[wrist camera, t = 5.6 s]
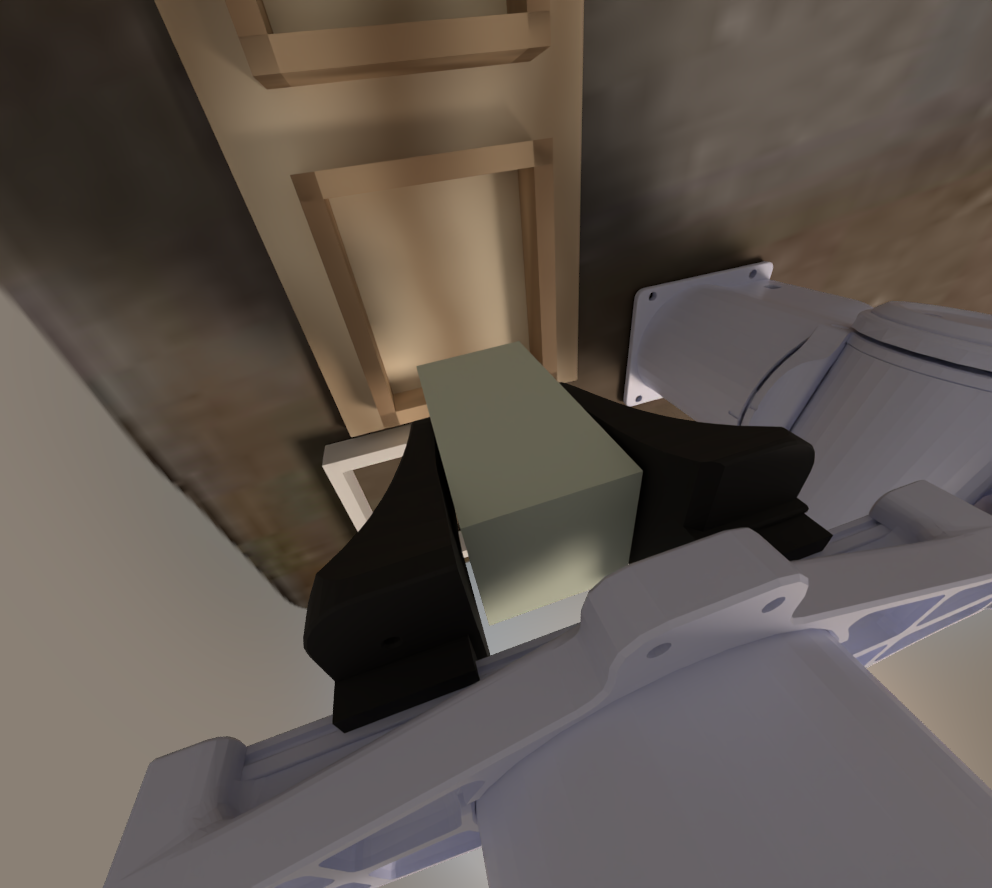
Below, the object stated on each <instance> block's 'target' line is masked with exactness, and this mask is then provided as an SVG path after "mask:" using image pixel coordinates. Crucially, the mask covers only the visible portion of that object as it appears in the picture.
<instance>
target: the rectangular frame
mask: <svg viewBox="0 0 992 888" xmlns="http://www.w3.org/2000/svg"><path fill="white" fill-rule="evenodd" d="M411 424H412V423H411ZM411 424H407V425H404V426H400V427H396V428H392V429H388V430H384V431H380V432H376V433H372V434H368V435H364V436H360V437H357V438H353V439H349V440H345V441H341V442H337V443H333V444H329V445H325V450H324V456H323V463H322V467H323V469H324V470H325V472H326V474H327V476H328V478H329V480H330V482H331V483H332V485H333V487H334V489H335V491H336V493H337V494H338V496H339V498H340V500H341V502H342V504H343V505H344V507H345V509H346V511H347V513H348V515H349V517H350V518H351V520H352V522H353V524H354V526H355V528H356V529H357V531H359V530H360V529H361V528H362V526H363V525H364V524H365V523H366V521H367V520H368V519H369V517H370V516H371V515H372V513H373V512H372V510H371V508H370V506H369V504H368V502H367V499H366V497H365V495H364V493H363V491H362V489H361V487H360V485H359V483H358V481H357V479H356V477H355V474H354V472H353V470H354V469H358V468H361V467H365V466H369V465H372V464H376V463H380V462H384V461H387V460H391V459H395V458H398V457H402V456H403V453H404V450H405V448H406V444H407V441H408V437H409V433H410V427H411ZM458 532H459V538H460V543H461V548H462V553H463V556H464V558H465V557H468V553H467V549H466V546H465V543H464V539H463V536H462V533H461V531H458Z"/></svg>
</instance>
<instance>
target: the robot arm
mask: <svg viewBox="0 0 992 888" xmlns="http://www.w3.org/2000/svg"><path fill="white" fill-rule="evenodd" d="M772 270H773V264H772V263H771V262H767V261H764V262H759V263H755V264H750V265H746V266H741V267H737V268H732V269H728V270H723V271H718V272H714V273H709V274H705V275H700V276H696V277H691V278H687V279H682V280H677V281H673V282H668V283H664V284H659V285H655V286H650V287H646V288H642V289H640V290H639V291H638V292H637V293H636V295H635V298H634V307H633V316H632V325H631V334H630V344H629V353H628V362H627V372H626V381H625V390H624V399H623V400H624V403H625V404H626V405H627V406H625V405H622V404H619V403H616V402H614V401H611V400H608V399H605V398H603V397H600V396H597V395H595V394H592V393H590V392H587V391H585V390H582V389H580V388H577V387H575V386H572V385H569V384H567V383H563V382H559V383H560V384H561V385H562V387H563V388H564V389H565V390H566V391H567V392H568V393H569V394H570V395H571V396H572V397H573V398H574V399H575V400H576V401H577V402H578V403H579V404H580V405H581V406H582V407H583V409H584V410H585V411H586V412H587V413H588V414H589V415H590V416H591V417H592V418H593V419H594V420H595V421H596V422H597V423H598V424H599V425H600V426H601V427H602V428H603V429H604V431H605V432H606V433H607V434H608V435H609V436H610V437H611V438H612V439H613V440H614V441H615V442H616V443H617V444H618V445H619V446H620V447H621V448H622V449H623V450H624V451H625V453H626V454H627V455H628V456H629V457H630V458H631V459H632V460H633V461H634V462H635V463H636V464H637V465H638V466H639V467H640V468H641V469H642V470H643V475H642V481H641V487H640V493H639V500H638V506H637V512H636V519H635V525H634V531H633V538H632V544H631V550H630V556H629V565H626V566H624V567H622V568H620V569H618V570H616V571H614V572H613V573H611V574H609V575H607V576H605V577H604V578H603V579H602V580H601V581H600V582H598V583H597V584H596V585H595V586H594V587H593V588H592V589H591V590H590V591H589V592H588V595H587V597H586V599H585V602H584V604H583V607H582V609H581V622H580V623H577V624H574V625H571V626H569V627H566V628H563V629H561V630H558V631H555V632H553V633H550V634H547V635H545V636H542V637H539V638H537V639H534V640H531V641H529V642H526V643H523V644H520V645H518V646H515V647H512V648H510V649H507V650H504V651H502V652H499V653H496V654H494V655H491V656H490V652H489V649H488V645H487V642H486V638H485V634H484V630H483V627H482V624H481V619H480V616H479V612H478V609H477V605H476V601H475V597H474V594H473V590H472V586H471V583H470V579H469V575H468V571H467V567H466V564H465V560H464V556H463V553H462V548H461V543H460V538H459V532H458V526H457V519H456V513H455V507H454V503H453V500H452V496H451V492H450V489H449V485H448V481H447V478H446V474H445V470H444V467H443V463H442V459H441V456H440V452H439V448H438V445H437V441H436V437H435V434H434V430H433V426H432V423H431V419H430V417H428V418H424V419H420V420H416V421H413V422H412V424H411V427H410V433H409V437H408V441H407V444H406V448H405V450H404V453H403V456H402V459H401V462H400V464H399V466H398V469H397V471H396V473H395V476H394V478H393V480H392V482H391V484H390V486H389V488H388V489H387V491H386V493H385V495H384V496H383V498H382V500H381V501H380V503H379V504H378V506H377V507H376V509H375V510H374V512H373V513H372V515H371V516H370V517H369V519H368V520H367V521H366V523H365V524H364V525H363V526H362V528H361V529H360V530H359V531H358V532H357V533H356V535H355V536H354V537H353V538H352V539H351V540H350V541H349V542H348V543H347V545H346V546H345V547H344V548H343V549H342V550H341V551H340V552H339V553H338V554H337V555H336V556H335V557H333V558H332V559H331V560H330V561H329V562H328V563H327V564H326V565H325V566H324V567H323V568H322V569H321V570H320V571H319V572H318V573H317V574H316V576H315V580H314V584H313V587H312V590H311V594H310V598H309V602H308V607H307V615H306V622H305V629H304V636H303V642H304V649H305V650H306V652H307V654H308V655H309V656H310V658H312V659H313V660H314V661H315V662H316V663H317V664H318V665H319V666H320V667H321V668H322V669H323V670H324V671H325V672H326V673H327V674H328V675H329V676H330V677H331V678H332V679H333V680H334V681H335V689H334V704H333V715H330V716H327V717H325V718H322V719H319V720H317V721H314V722H312V723H309V724H306V725H303V726H300V727H298V728H295V729H292V730H290V731H287V732H285V733H282V734H279V735H276V736H274V737H271V738H268V739H266V740H263V741H260V742H258V743H255V744H252V745H250V746H247V747H246V746H245V745H244V744H243V743H242V742H241V741H240V740H238V739H236V738H233V737H228V736H226V737H216V738H212V739H208V740H205V741H202V742H200V743H197V744H194V745H192V746H189V747H186V748H183V749H180V750H178V751H175V752H172V753H170V754H167V755H164V756H162V757H159V758H156V759H155V760H153V761H152V762H151V763H150V764H149V766H148V769H147V771H146V774H145V777H144V779H143V782H142V785H141V787H140V790H139V793H138V795H137V798H136V801H135V803H134V806H133V809H132V811H131V814H130V817H129V819H128V822H127V825H126V827H125V830H124V833H123V836H122V838H121V841H120V843H119V846H118V849H117V851H116V854H115V857H114V859H113V862H112V865H111V867H110V870H109V873H108V875H107V878H106V881H105V883H104V886H103V888H377V887H380V886H383V885H385V884H388V883H390V882H393V881H396V880H398V879H400V878H403V877H406V876H409V875H411V874H414V873H416V872H419V871H421V870H424V869H427V868H429V867H432V866H434V865H437V864H440V863H442V862H445V861H447V860H450V859H453V858H455V857H458V856H460V855H463V854H466V853H468V852H471V851H473V850H476V849H479V848H481V847H482V850H483V856H484V862H485V867H486V873H487V879H488V885H489V888H992V790H991V789H990V788H989V787H988V786H987V785H986V784H985V783H984V782H983V781H982V780H981V779H980V778H979V777H978V776H977V775H976V774H974V772H972V770H971V769H970V768H968V767H967V766H966V765H965V764H964V763H963V762H962V761H961V760H960V759H959V758H958V757H957V756H956V755H955V754H954V753H953V752H952V751H951V750H950V749H949V748H948V747H947V746H946V745H945V744H944V743H943V742H942V741H941V740H940V739H938V738H937V737H936V736H935V735H934V734H933V733H932V732H931V731H930V730H929V729H928V728H927V727H926V726H925V725H924V724H923V723H922V722H921V721H920V720H919V719H918V718H917V717H916V716H915V715H914V714H913V713H912V712H911V711H909V709H907V707H905V706H904V705H903V704H902V703H901V702H900V701H899V700H898V699H897V698H896V697H895V696H894V695H893V694H892V693H891V692H890V691H889V690H888V689H887V688H886V687H885V686H884V685H883V684H882V683H881V682H880V681H879V680H878V679H877V678H876V677H875V676H873V675H872V674H871V673H870V672H869V671H868V670H867V669H866V668H867V667H869V666H871V665H873V664H875V663H877V662H879V661H881V660H883V659H885V658H886V657H889V656H890V655H892V654H894V653H896V652H898V651H900V650H902V649H904V648H906V647H908V646H910V645H912V644H914V643H916V642H918V641H920V640H922V639H924V638H926V637H928V636H930V635H932V634H934V633H936V632H938V631H940V630H942V629H944V628H946V627H948V626H951V625H953V624H955V623H957V622H959V621H961V620H964V619H966V618H968V617H970V616H972V615H974V614H976V613H979V612H980V611H982V610H983V609H992V315H990V314H985V313H979V312H974V311H968V310H962V309H956V308H950V307H943V306H937V305H930V304H922V303H914V302H903V301H890V302H887V303H884V304H882V305H879V306H877V307H875V308H873V307H872V306H870V305H868V304H866V303H864V302H861V301H858V300H854V299H850V298H845V297H841V296H837V295H833V294H828V293H824V292H820V291H816V290H811V289H807V288H803V287H799V286H794V285H790V284H786V283H782V282H777V281H773V280H769V279H770V276H771V273H772ZM750 272H751V274H750ZM652 292H653V295H652V297H651V298H650V299H649V296H650V294H651V293H652ZM637 396H639V397H638V398H637ZM636 398H637V399H636ZM659 398H665V399H666V400H668V401H669V402H670V403H672V404H673V405H675V406H676V407H677V408H679V409H680V410H682V411H683V412H684V413H686V414H687V415H688V416H690V417H691V418H693V419H694V420H695V421H690V420H683V419H677V418H672V417H667V416H662V415H658V414H654V413H650V412H645V411H642V410H638V409H635V408H632V407H629V406H634V405H638V404H641V403H645V402H649V401H652V400H656V399H659ZM696 421H697V422H696Z"/></svg>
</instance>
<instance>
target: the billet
mask: <svg viewBox="0 0 992 888" xmlns="http://www.w3.org/2000/svg"><path fill="white" fill-rule="evenodd" d="M416 367H417V371H418V375H419V378H420V382H421V386H422V389H423V393H424V397H425V400H426V404H427V408H428V412H429V415H430V419H431V423H432V426H433V430H434V434H435V437H436V441H437V445H438V448H439V452H440V456H441V459H442V463H443V467H444V470H445V474H446V478H447V481H448V485H449V489H450V492H451V496H452V500H453V503H454V507H455V511H456V515H457V518H458V522H459V526H460V529H461V533H462V536H463V539H464V543H465V546H466V549H467V553H468V556H469V559H470V563H471V566H472V569H473V573H474V576H475V579H476V583H477V586H478V589H479V592H480V596H481V599H482V603H483V606H484V609H485V613H486V616H487V619H488V623H489V625H493V624H496V623H498V622H501V621H504V620H507V619H509V618H512V617H515V616H518V615H521V614H523V613H526V612H529V611H531V610H534V609H537V608H540V607H543V606H546V605H548V604H551V603H553V602H557V601H559V600H562V599H565V598H568V597H570V596H573V595H576V594H579V593H581V592H584V591H587V590H590V589H592V588H593V587H594V586H595V585H596V584H597V583H598V582H600V581H601V580H602V579H603V578H604V577H605V576H607V575H609V574H611V573H613V572H614V571H616V570H618V569H620V568H622V567H624V566H626V565H628V563H629V556H630V550H631V544H632V538H633V531H634V525H635V519H636V512H637V506H638V500H639V493H640V487H641V481H642V475H643V470H642V469H641V468H640V467H639V466H638V465H637V464H636V463H635V462H634V461H633V460H632V459H631V458H630V457H629V456H628V455H627V454H626V453H625V451H624V450H623V449H622V448H621V447H620V446H619V445H618V444H617V443H616V442H615V441H614V440H613V439H612V438H611V437H610V436H609V435H608V434H607V433H606V432H605V431H604V429H603V428H602V427H601V426H600V425H599V424H598V423H597V422H596V421H595V420H594V419H593V418H592V417H591V416H590V415H589V414H588V413H587V412H586V411H585V410H584V409H583V407H582V406H581V405H580V404H579V403H578V402H577V401H576V400H575V399H574V398H573V397H572V396H571V395H570V394H569V393H568V392H567V391H566V390H565V389H564V388H563V387H562V385H561V384H560V383H559V382H558V381H557V380H556V379H555V378H554V377H553V376H552V375H551V374H550V373H549V372H548V371H547V370H546V369H545V368H544V367H543V366H542V365H541V363H540V362H539V361H538V360H537V359H536V358H535V357H534V356H533V355H532V354H531V353H530V352H529V351H528V350H527V349H526V348H525V347H524V346H523V345H522V344H521V343H520V341H517V342H513V343H509V344H505V345H501V346H497V347H492V348H488V349H484V350H480V351H476V352H472V353H468V354H464V355H460V356H456V357H452V358H448V359H444V360H440V361H436V362H431V363H427V364H423V365H419V366H416Z"/></svg>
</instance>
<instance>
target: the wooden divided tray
mask: <svg viewBox="0 0 992 888" xmlns="http://www.w3.org/2000/svg"><path fill="white" fill-rule="evenodd" d="M154 1H155V3H156V5H157V8H158V10H159V12H160V14H161V17H162V19H163V21H164V23H165V25H166V28H167V30H168V32H169V34H170V37H171V39H172V41H173V43H174V45H175V48H176V50H177V52H178V54H179V56H180V59H181V61H182V63H183V65H184V68H185V70H186V72H187V74H188V76H189V79H190V81H191V83H192V85H193V88H194V90H195V92H196V94H197V96H198V99H199V101H200V103H201V105H202V108H203V110H204V112H205V114H206V116H207V119H208V121H209V123H210V125H211V128H212V130H213V132H214V134H215V136H216V139H217V141H218V143H219V145H220V148H221V150H222V152H223V154H224V156H225V159H226V161H227V163H228V165H229V167H230V170H231V172H232V174H233V176H234V179H235V181H236V183H237V185H238V187H239V190H240V192H241V194H242V196H243V199H244V201H245V203H246V205H247V207H248V210H249V212H250V214H251V216H252V219H253V221H254V223H255V225H256V227H257V230H258V232H259V234H260V236H261V239H262V241H263V243H264V245H265V247H266V250H267V252H268V254H269V256H270V259H271V261H272V263H273V265H274V267H275V270H276V272H277V274H278V276H279V278H280V281H281V283H282V285H283V287H284V290H285V292H286V294H287V296H288V298H289V301H290V303H291V305H292V307H293V310H294V312H295V314H296V316H297V318H298V321H299V323H300V325H301V327H302V330H303V332H304V334H305V336H306V338H307V341H308V343H309V345H310V347H311V350H312V352H313V354H314V356H315V358H316V361H317V363H318V365H319V367H320V370H321V372H322V374H323V376H324V378H325V381H326V383H327V385H328V387H329V389H330V392H331V394H332V396H333V398H334V401H335V403H336V405H337V407H338V409H339V412H340V414H341V416H342V418H343V421H344V423H345V425H346V427H347V429H348V432H349V434H350V436H351V437H355V436H359V435H363V434H367V433H370V432H374V431H378V430H382V429H386V428H390V427H394V426H398V425H402V424H406V423H410V422H413V421H416V420H420V419H424V418H428V417H430V415H429V412H428V408H427V404H426V400H425V397H424V393H423V389H422V386H421V382H420V378H419V375H418V371H417V367H416V366H419V365H423V364H427V363H431V362H436V361H440V360H444V359H448V358H452V357H456V356H460V355H464V354H468V353H472V352H476V351H480V350H484V349H488V348H492V347H497V346H501V345H505V344H509V343H513V342H517V341H520V343H521V344H522V345H523V346H524V347H525V348H526V349H527V350H528V351H529V352H530V353H531V354H532V355H533V356H534V357H535V358H536V359H537V360H538V361H539V362H540V363H541V365H542V366H543V367H544V368H545V369H546V370H547V371H548V372H549V373H550V374H551V375H552V376H553V377H554V378H555V379H556V380H557V381H558V382H563V383H567V382H570V381H574V380H577V361H578V305H579V249H580V192H581V136H582V80H583V23H584V0H154Z"/></svg>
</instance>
